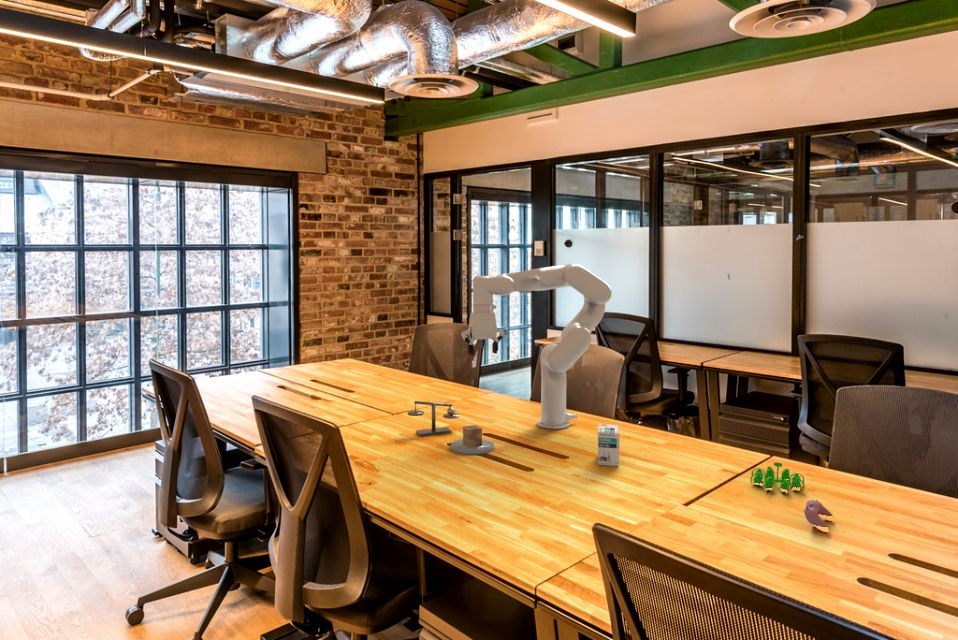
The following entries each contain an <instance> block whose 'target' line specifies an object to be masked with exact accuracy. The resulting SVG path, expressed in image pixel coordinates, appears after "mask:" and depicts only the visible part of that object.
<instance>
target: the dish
mask: <svg viewBox="0 0 958 640" xmlns="http://www.w3.org/2000/svg"><path fill="white" fill-rule="evenodd" d="M494 450H495V443H494V442H493V441H491V440H488V439H485V438H482V446H476V447H467V446H466V445H464V444H463V438H461V439H457V440H453V441H452V442H451V443H450V451H452V452H454V453H456V454H460V455H467V456H474V455H475V456H477V455H484V454H488V453H491V452H493V451H494Z"/></svg>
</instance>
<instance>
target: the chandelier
mask: <svg viewBox="0 0 958 640" xmlns="http://www.w3.org/2000/svg"><path fill="white" fill-rule="evenodd" d="M773 466H775V467H777V468H776V477H775V470H774V469H773V467H772V466H767V468H766V471H765V470H763V469H762V468H760V467H756V468H754V469H753V470H752V472H751V476H750V483H751V484H752V483H754V482H755V483H759V484H760V483H762V484H763V483H764V482H765V484H764V489H765V488H766V489H767V488H772V487H773V488H774V483H779V484H780V488H782V489H785V490H786V489H787V491H789V492H790V488H789V485H790V484H791V485H792V486H793V487H796V488H797V487H798V488H799V487H801V488H802V489H803V488H804V489H805V477H804V476H803V474H801V473H798V472H794V473H792V474H790V470H789V468H784V469H783V470H782V472H781V474H780V475H781V476H780V477H779V468H781V467H783V463H781V462H774V463H773ZM752 477H754V479H753V478H752ZM771 477H772V478H771ZM801 477H802V479H801ZM762 479H763V481H764V480H765V481H764V482H763V481H762ZM781 479H782V480H781ZM786 479H789V480H786ZM752 480H753V481H752ZM788 481H789V482H788ZM800 482H801V483H800ZM801 484H803V485H802V486H801ZM791 485H790V486H791ZM792 486H791V487H792Z"/></svg>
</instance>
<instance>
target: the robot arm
mask: <svg viewBox="0 0 958 640" xmlns="http://www.w3.org/2000/svg"><path fill="white" fill-rule="evenodd" d="M567 287H571V288H572V289H574V290H576V291H577V292H578V293H580V294H581V295H582V296H583V306H582V308H581V309H580V310H579V312H578V313H577V314H576V315H575V316H574V317H573V318H572V320H570V322H569V323H568V324H567V325H565V326H564V328H562V330H561V333H560V339H561V340H560V341H559V342H558V343H553V342H552V343H548V344H547V345H545V346H544V347H543V348H542V350H541V353H540V357H539V359H540V360H539V361H540V376H541V385H540V394H541V395H540V399H541V400H540V419H538V420H537V422H536V425H537V426H538V427H540V428H543V429H549V430H562V429H566V428H568V427H570V426H571V424H570V420H575V419H577V418H578V415H577V413H570V412H567V371H569V369H570V368H572V366H573V365H575V363H576V362H577V361H578V360H579V359H580V357H582V355H583V354H584V353H585V352H586V351H587V350H588V349H589V347H590V345H591V343H592V332H593V331H594V330H595V329H596V327H597V326H598V325H599V324H600V323H601V321H602V319H603V317H604V315H605V310H606V304H607V303H608V302H609V301H610V300H611V298H612V288H611V287H610V285H609V284H608V283H607V282H606V281H604V280H603V279H601V278H600V277H598V276H597V275H595V274H594V273H592V272H591V271H589V270H588V269H587V268H585V267H584V266H582V265H580V264H576V263H565V264H558V265H553V266H545V267H539V268H533V269H529V270H522V271H521V270H520V271H516V272H510V273H509V272H508V273H502V274H497V275H495V276H490V275H476V276H474V277H473V279H472V311H471V312H470V316H469V320H468V321H469V322H468V329H466V330H464V331H462V332H461V333H460V334H461V337H462V339H463V341H465V343H466V344H467V353H468V355H470V356H474V354H475V348H474V347H475V345H474V343H475V341H476V340H490V339H491V340H492V341H493V342H492V343H491V344H492V345H491V346H492V347H491V348H492V349H491V351H492V352H491V353H492V354H495V355H496V354H498V351H499V343H500V341H501V340H502V339H503V336H504V335H505V330H504V329H501V328H499V327H497V318H496V313H495V312H494V310H496V309H497V305H494V296H495V295H496V296H503V297H504V296H508V295H511V294H512V293H515V292H523V291H524V292H525V291H532V292H534V291H535V292H541V291H548V290H555V289H561V288H567ZM498 333H499V334H498ZM467 335H468V336H467ZM468 337H469V338H468Z"/></svg>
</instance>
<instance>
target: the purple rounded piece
mask: <svg viewBox="0 0 958 640" xmlns="http://www.w3.org/2000/svg"><path fill="white" fill-rule="evenodd" d="M803 512H804V513H803V514H804V515H805V519H806V520H807V522H808V523H809V524H810V525H812V524H813V525H816V526H821V527H829V526H828V524H827V523H826V522H825V520H824V519H822V518H821V517H820V516H818V515H819V514H821V515H826V516H833V517H834V515H833V514H832V512H831V511H830V510H828V508H826V507H825V506H824V505H823V504H822V502H821V501H819V500H818V499H816V500H814V499H810V500H807V501H806V503H805V508H804V509H803Z"/></svg>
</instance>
